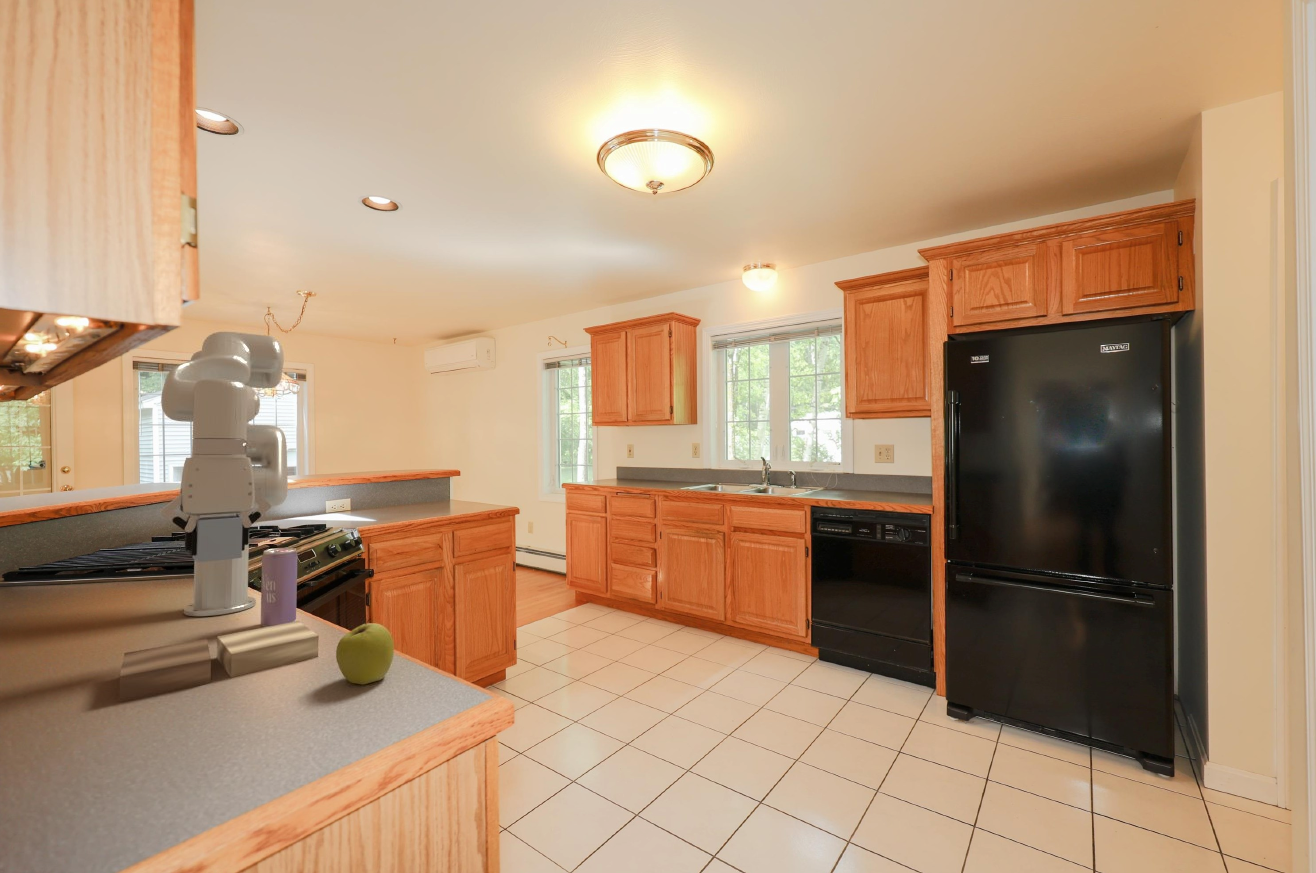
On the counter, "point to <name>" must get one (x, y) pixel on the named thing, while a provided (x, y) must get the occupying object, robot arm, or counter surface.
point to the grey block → (218, 538)
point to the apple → (365, 653)
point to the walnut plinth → (164, 669)
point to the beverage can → (278, 586)
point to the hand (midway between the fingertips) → (217, 551)
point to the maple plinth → (266, 648)
